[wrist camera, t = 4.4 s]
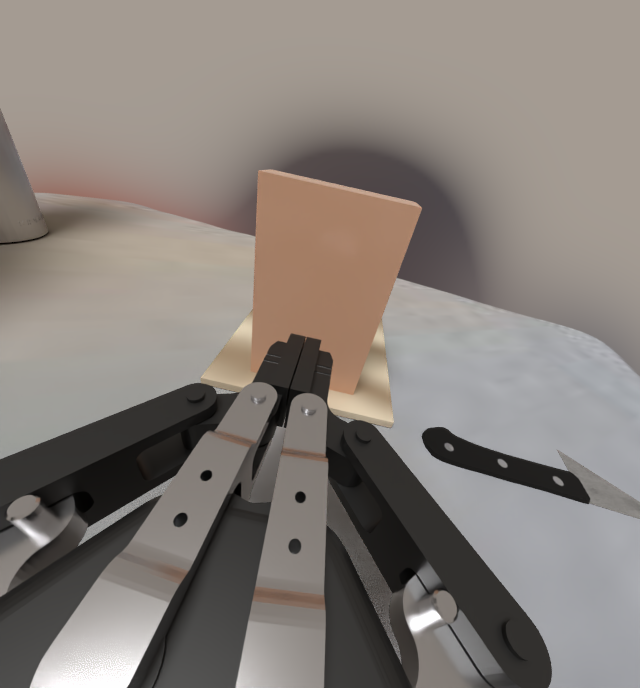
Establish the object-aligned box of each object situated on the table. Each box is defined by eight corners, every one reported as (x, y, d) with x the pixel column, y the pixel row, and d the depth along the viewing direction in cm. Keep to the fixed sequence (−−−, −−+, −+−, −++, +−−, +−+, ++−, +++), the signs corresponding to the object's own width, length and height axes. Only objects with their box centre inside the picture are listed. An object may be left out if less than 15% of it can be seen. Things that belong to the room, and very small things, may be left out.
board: (390, 427, 19) (393, 422, 19) (201, 383, 19) (200, 377, 19) (378, 308, 34) (380, 304, 34) (274, 284, 35) (274, 280, 34)
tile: (353, 395, 20) (422, 207, 13) (250, 371, 20) (258, 170, 13) (353, 373, 22) (414, 201, 15) (260, 352, 22) (273, 169, 15)
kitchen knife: (414, 372, 25) (422, 466, 17) (416, 368, 25) (425, 462, 17) (748, 473, 23) (944, 640, 15) (755, 470, 22) (959, 639, 14)
